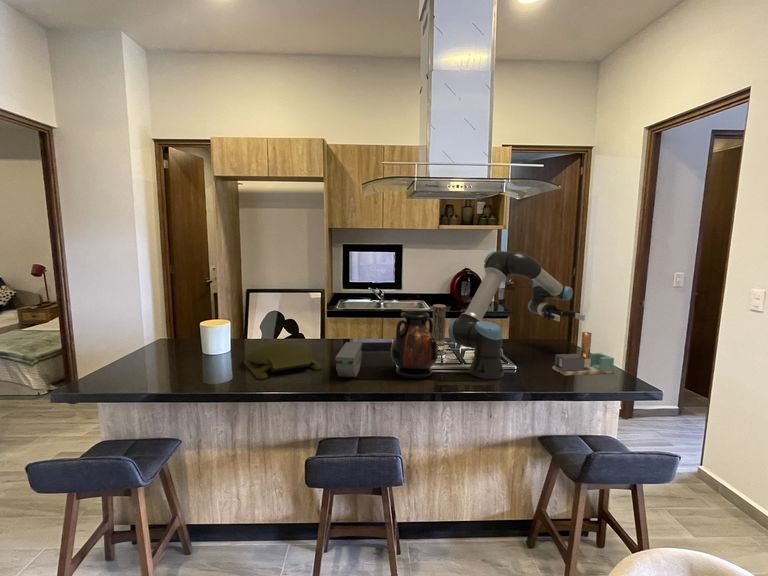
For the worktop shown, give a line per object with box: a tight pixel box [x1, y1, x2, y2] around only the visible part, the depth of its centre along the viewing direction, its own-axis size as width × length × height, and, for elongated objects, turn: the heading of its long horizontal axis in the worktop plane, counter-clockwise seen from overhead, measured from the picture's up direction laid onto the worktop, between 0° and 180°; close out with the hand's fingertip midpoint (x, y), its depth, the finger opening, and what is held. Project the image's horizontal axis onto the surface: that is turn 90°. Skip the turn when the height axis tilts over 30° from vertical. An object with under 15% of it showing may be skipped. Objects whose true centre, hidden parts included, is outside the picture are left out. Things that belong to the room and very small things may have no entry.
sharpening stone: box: [335, 341, 363, 378], centre depth 187 cm, size 25×8×11 cm, turn 175°
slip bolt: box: [558, 331, 592, 367], centre depth 192 cm, size 15×4×16 cm, turn 100°
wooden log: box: [432, 303, 447, 347], centre depth 226 cm, size 7×7×25 cm
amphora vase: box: [390, 310, 439, 379], centre depth 186 cm, size 22×22×28 cm
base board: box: [552, 365, 614, 376], centre depth 194 cm, size 25×10×1 cm, turn 100°
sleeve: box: [554, 353, 585, 372], centre depth 192 cm, size 11×6×6 cm, turn 100°
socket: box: [590, 352, 615, 371], centre depth 195 cm, size 6×9×6 cm, turn 10°
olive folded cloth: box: [243, 341, 324, 380], centre depth 197 cm, size 35×31×10 cm
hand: (571, 318), depth 204 cm, fingers open, 13 cm apart
